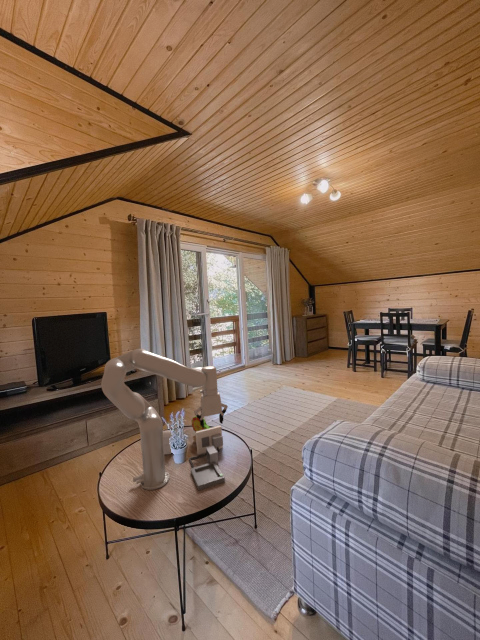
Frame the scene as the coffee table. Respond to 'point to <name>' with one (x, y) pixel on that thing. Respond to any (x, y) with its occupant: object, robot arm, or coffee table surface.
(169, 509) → the coffee table surface
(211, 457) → the grey rectangular block
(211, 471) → the charging cradle
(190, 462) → the dark piece
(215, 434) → the plate
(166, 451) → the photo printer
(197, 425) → the toy lion
